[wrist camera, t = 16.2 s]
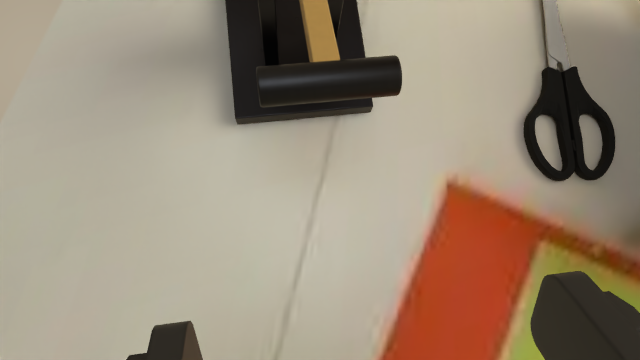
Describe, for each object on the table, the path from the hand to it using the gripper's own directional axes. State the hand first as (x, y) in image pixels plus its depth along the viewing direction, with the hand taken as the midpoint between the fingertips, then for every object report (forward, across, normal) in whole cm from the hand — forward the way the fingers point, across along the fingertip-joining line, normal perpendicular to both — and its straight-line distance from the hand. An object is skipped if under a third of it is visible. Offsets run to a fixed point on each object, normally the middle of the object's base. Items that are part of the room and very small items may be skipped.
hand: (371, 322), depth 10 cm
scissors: (+26, -21, +4) cm, 34 cm away
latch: (+16, -1, -4) cm, 16 cm away
